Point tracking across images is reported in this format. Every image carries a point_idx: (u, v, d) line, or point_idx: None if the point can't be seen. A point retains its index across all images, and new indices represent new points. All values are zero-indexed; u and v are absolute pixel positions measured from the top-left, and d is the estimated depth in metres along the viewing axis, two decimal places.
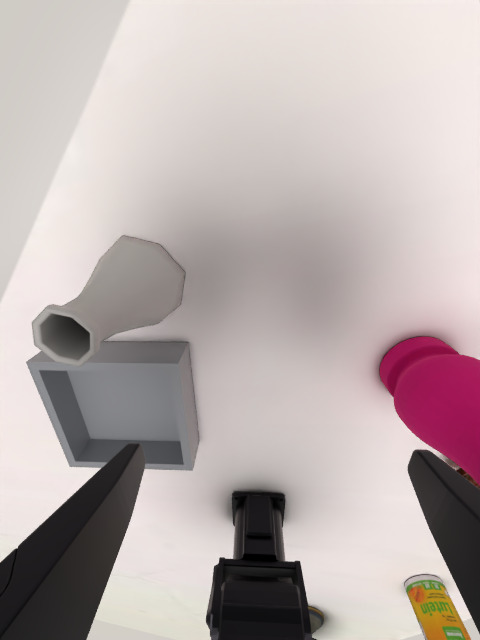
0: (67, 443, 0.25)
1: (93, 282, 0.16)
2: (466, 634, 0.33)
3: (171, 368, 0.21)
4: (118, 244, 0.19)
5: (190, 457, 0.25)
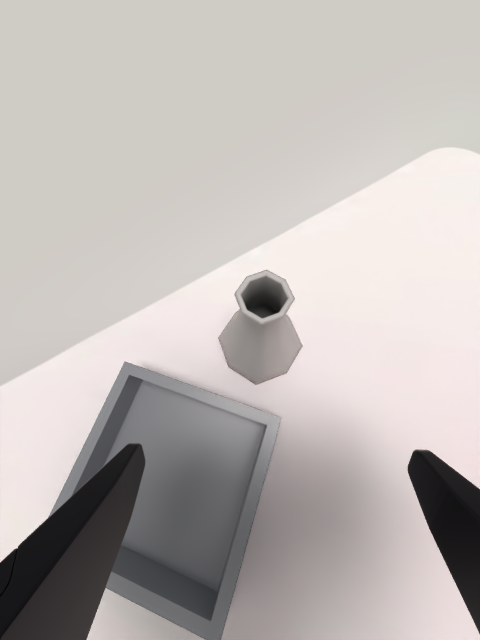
0: (69, 496, 0.17)
1: (262, 298, 0.19)
2: None
3: (271, 421, 0.18)
4: (264, 302, 0.24)
5: (229, 605, 0.15)
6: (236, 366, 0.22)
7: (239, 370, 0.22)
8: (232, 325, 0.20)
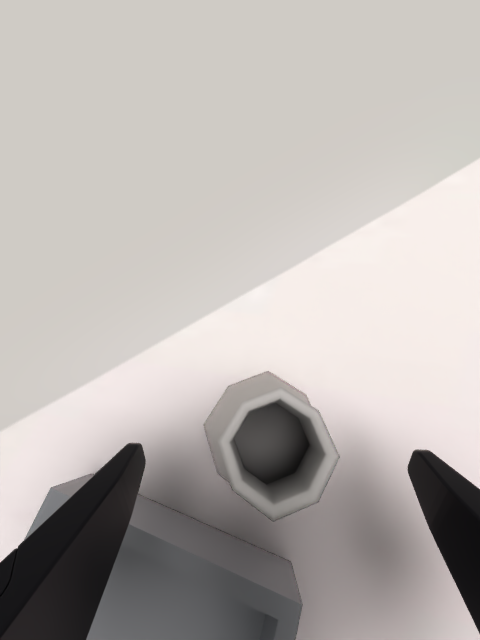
0: None
1: None
2: None
3: (285, 611, 0.11)
4: (270, 376, 0.16)
5: None
6: (228, 479, 0.15)
7: None
8: (220, 434, 0.12)
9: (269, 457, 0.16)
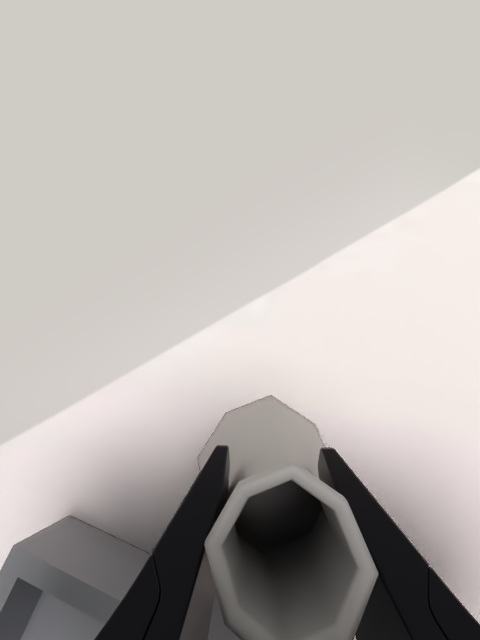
0: None
1: (275, 443, 0.10)
2: None
3: None
4: (274, 404, 0.14)
5: None
6: None
7: None
8: None
9: (273, 498, 0.14)
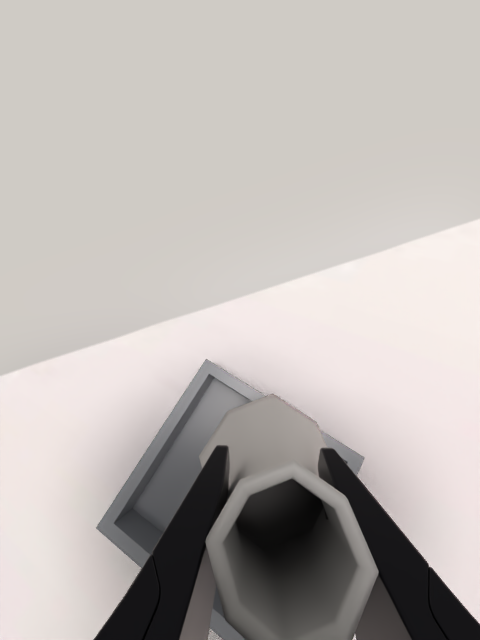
0: (137, 484, 0.17)
1: (276, 441, 0.10)
2: None
3: (352, 458, 0.17)
4: (275, 402, 0.14)
5: None
6: None
7: None
8: None
9: (274, 495, 0.14)
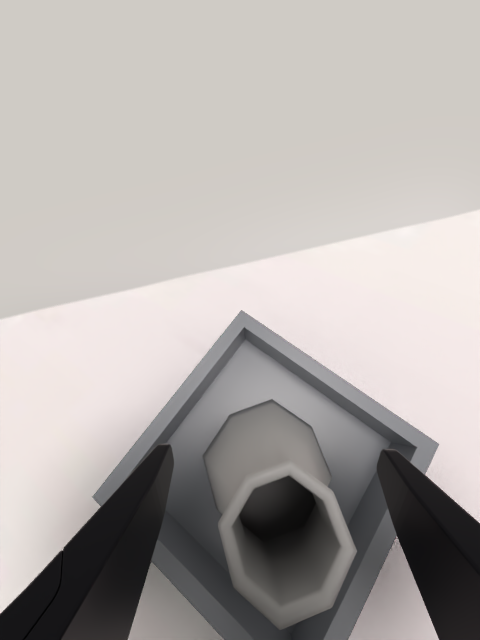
0: (147, 448, 0.14)
1: (275, 444, 0.11)
2: None
3: (423, 444, 0.13)
4: (275, 407, 0.15)
5: None
6: None
7: None
8: (221, 479, 0.12)
9: (271, 493, 0.15)
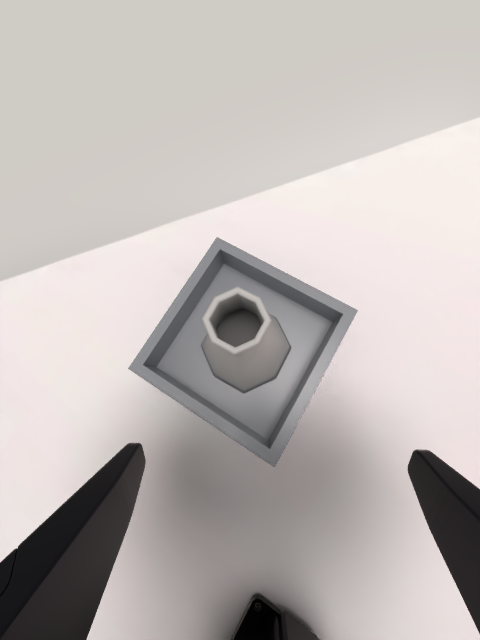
0: (160, 336, 0.20)
1: None
2: None
3: (347, 311, 0.20)
4: None
5: (286, 441, 0.18)
6: (221, 377, 0.21)
7: (225, 380, 0.21)
8: None
9: None
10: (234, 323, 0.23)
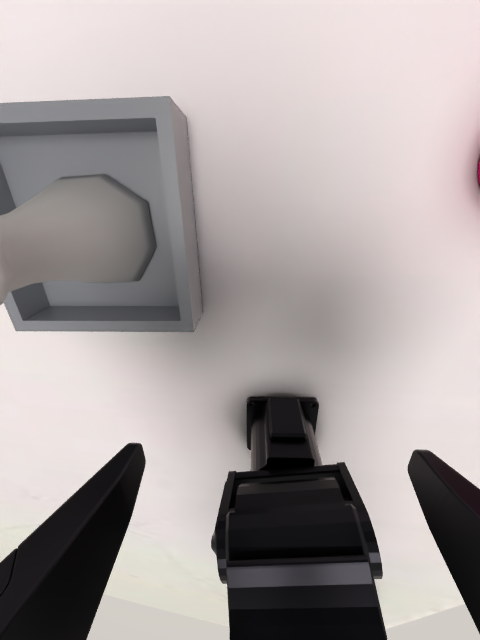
0: None
1: (12, 214, 0.12)
2: None
3: (158, 109, 0.13)
4: (53, 183, 0.15)
5: (190, 306, 0.17)
6: (102, 282, 0.18)
7: (110, 282, 0.18)
8: None
9: None
10: None
